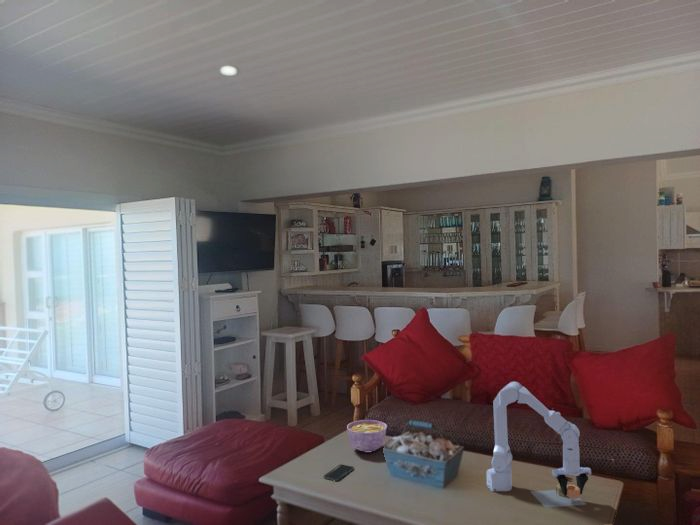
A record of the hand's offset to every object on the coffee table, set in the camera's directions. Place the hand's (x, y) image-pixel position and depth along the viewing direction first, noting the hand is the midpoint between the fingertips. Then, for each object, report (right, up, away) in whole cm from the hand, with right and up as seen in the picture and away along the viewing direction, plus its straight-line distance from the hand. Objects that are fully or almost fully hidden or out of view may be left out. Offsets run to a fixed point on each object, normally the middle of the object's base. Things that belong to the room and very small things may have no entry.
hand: (571, 493), depth 195 cm
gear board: (-4, -4, +3) cm, 7 cm away
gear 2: (0, 0, 0) cm, 0 cm away
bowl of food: (-75, -6, +61) cm, 97 cm away
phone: (-89, -7, +34) cm, 95 cm away
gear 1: (-1, -3, +6) cm, 7 cm away
